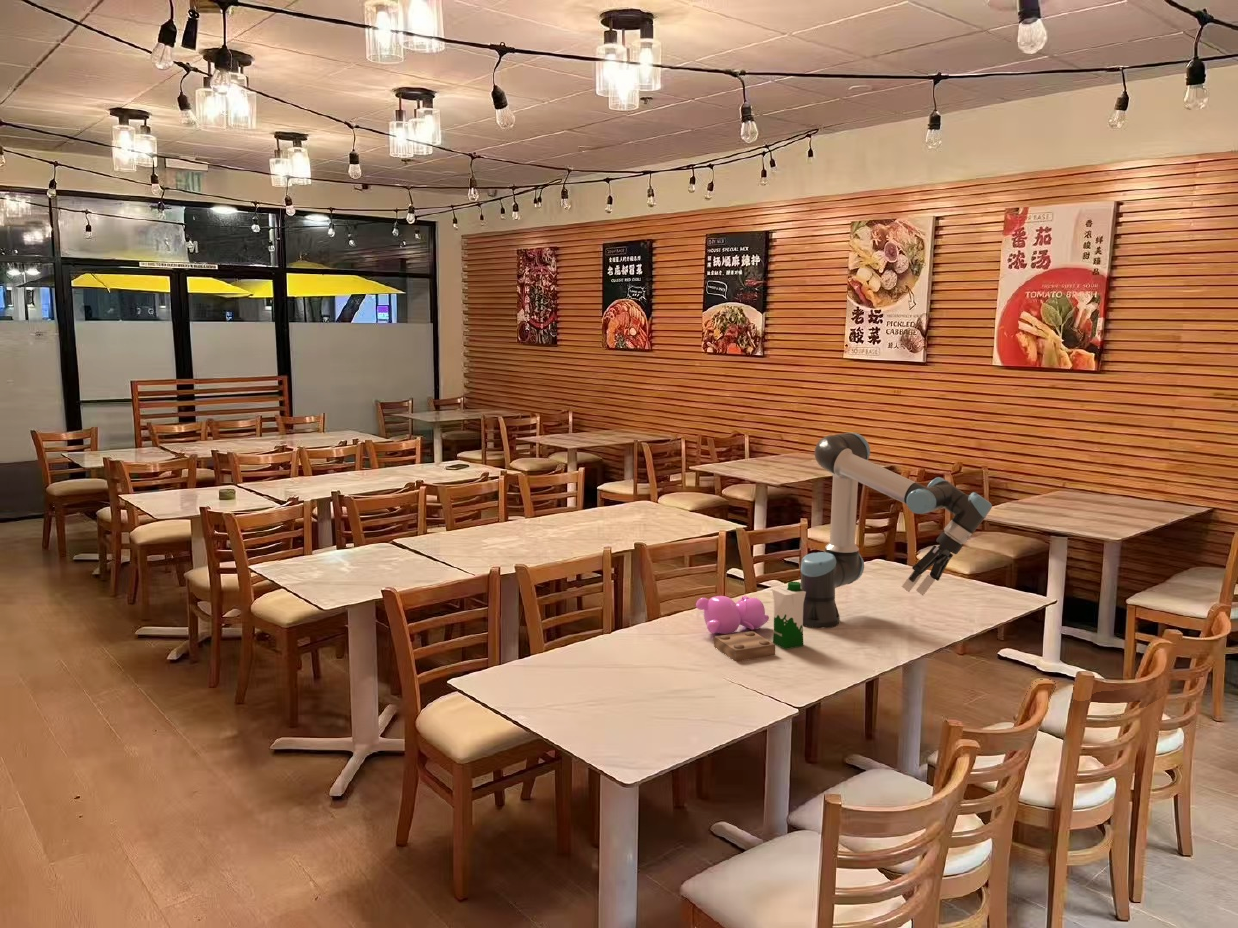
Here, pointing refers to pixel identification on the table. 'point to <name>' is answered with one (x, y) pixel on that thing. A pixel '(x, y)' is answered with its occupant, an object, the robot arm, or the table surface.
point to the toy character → (732, 613)
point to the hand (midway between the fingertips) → (912, 591)
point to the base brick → (744, 646)
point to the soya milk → (788, 615)
